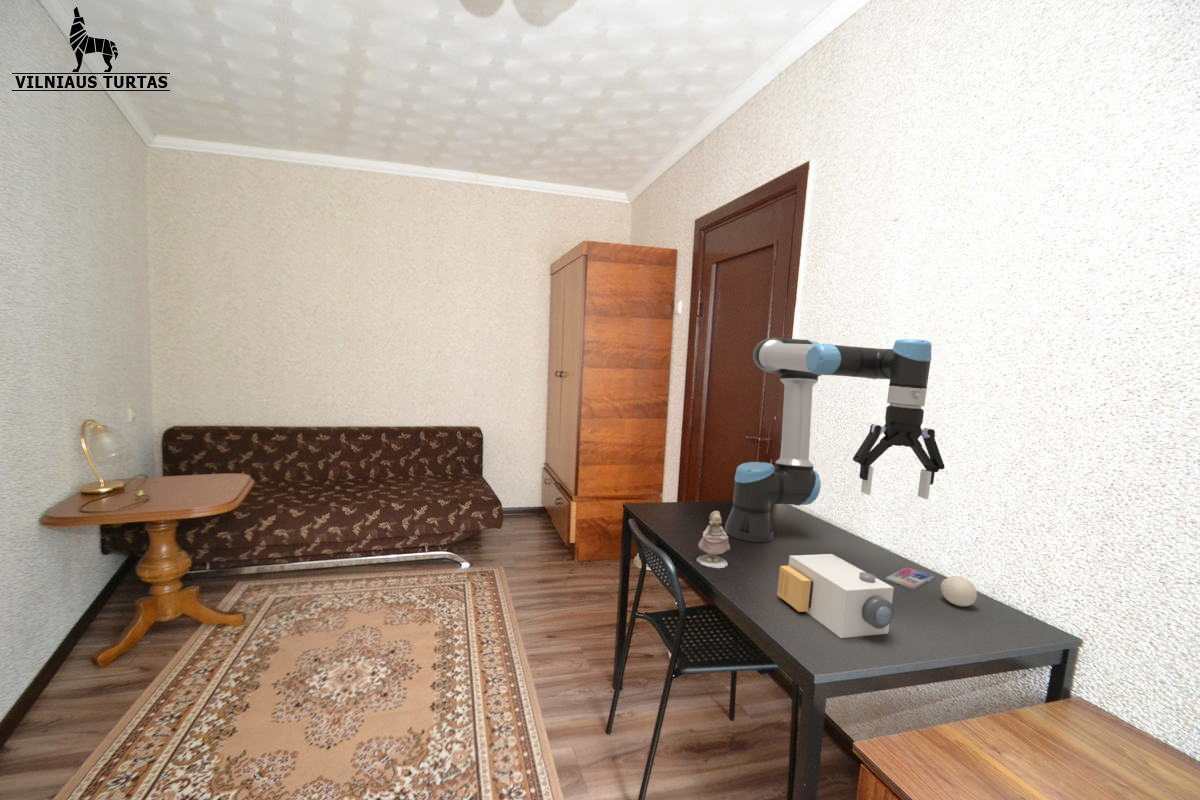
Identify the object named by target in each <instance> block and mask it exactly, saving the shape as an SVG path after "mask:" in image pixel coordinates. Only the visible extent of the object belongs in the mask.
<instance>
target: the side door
mask: <svg viewBox="0 0 1200 800" xmlns="http://www.w3.org/2000/svg"><path fill="white" fill-rule="evenodd" d="M777 583H778V584H777V592H776V595H777V596H778V597H779V598H780V599H781V600H784V601H785V602H786V603H787V604H789V605H790V606H791V607H792V608H793V609H795V610H796V611H797V612H799V613H800V612H801V613H802V612H805V611H808V605H809V596H810V587H811V580H810V579H808V578H806V577H805V576H803V575H802V574H800V573H799V572H797V571H796V570H794V569H793V568H791V567H789V565H780V566H779V572H778V582H777Z"/></svg>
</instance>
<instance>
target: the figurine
mask: <svg viewBox="0 0 1200 800" xmlns="http://www.w3.org/2000/svg"><path fill="white" fill-rule="evenodd" d="M708 523H709V524H708V525H707V526H706V528H705V530H704V531H702V537H701V538H700V540H699V542H698V547H699V550H701V551H702V552H704V553H707V554H704V555H699V556H698V557H697V558H696V562H698V563H699V564H700V565H701V566H702V565H703V566H706V567H708V568H713V569H722V568H726V567H728V564H729V563H728V561H727V560H726V559H724V558H722V557H720V556H717V555H721V554H724V553H725V552H726V551H730V550H731V547H730V546H731V545H730V543H729V535H728V534H727V533H726V532H725V529H724V527H723V526H722V525H721V524H723V521H722V516H721V513H720V511H719V510H714V511H712V512H711V513H710V515H709V521H708ZM689 563H690V564H692V562H689ZM725 566H726V567H725Z"/></svg>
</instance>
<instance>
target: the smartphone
mask: <svg viewBox="0 0 1200 800" xmlns="http://www.w3.org/2000/svg"><path fill="white" fill-rule="evenodd" d="M934 578H935V577H934V575H932V574H929V573H926V572H924V571H921V570H917V569H914V568H910V567H904V568H902V569H900V570H897V571H896V572H894V573H892V574H890V575H887V576H885V577H884V580H885V581H887V582H890V583H892V584H895V585H897V584H898V585H899V586H901V587H904V588H906V589H908V590H916V589H918V588H920V587H921V586H923V585H925V584H927V583H929V582H930V581H932V580H934Z"/></svg>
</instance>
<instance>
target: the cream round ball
mask: <svg viewBox="0 0 1200 800" xmlns="http://www.w3.org/2000/svg"><path fill="white" fill-rule="evenodd" d="M940 590H941V592H942V595H943V596H944V598H945V599H946V600H947V602H948V603H950V604H953V605H955V606H958V607H970V606H971V605H973V604H974V603H975V602H976V600H977V597H978V591H977V588H976V587H975V585H974V584H973V583H972V582H971V581H970V580H968V579H967V578H964V577H961V576H949V577H947V578H944V579H943V580H942V581H941V583H940Z"/></svg>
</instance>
